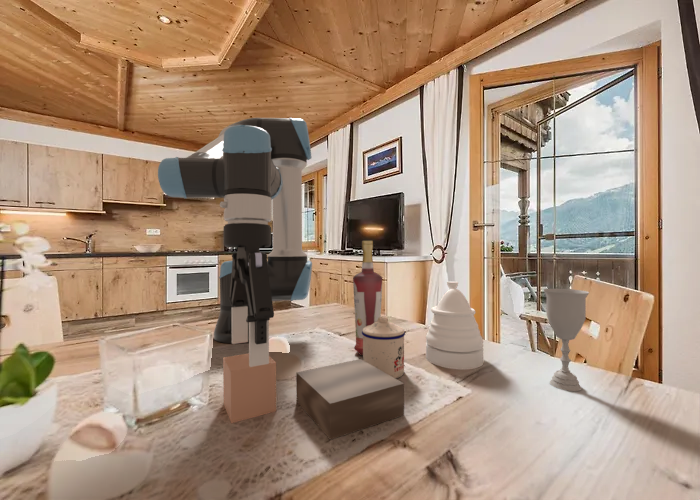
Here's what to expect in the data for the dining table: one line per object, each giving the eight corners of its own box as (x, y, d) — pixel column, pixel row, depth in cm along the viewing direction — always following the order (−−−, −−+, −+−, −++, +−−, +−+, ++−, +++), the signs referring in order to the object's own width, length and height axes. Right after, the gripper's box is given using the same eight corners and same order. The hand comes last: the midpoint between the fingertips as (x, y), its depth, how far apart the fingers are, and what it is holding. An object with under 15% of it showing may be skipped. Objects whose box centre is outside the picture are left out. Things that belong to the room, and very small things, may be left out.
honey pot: (424, 349, 84) (423, 279, 84) (476, 351, 82) (476, 280, 82) (428, 367, 72) (427, 285, 71) (489, 371, 70) (489, 286, 69)
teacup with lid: (404, 382, 64) (404, 323, 64) (358, 379, 66) (358, 321, 66) (406, 361, 75) (406, 311, 75) (367, 358, 77) (367, 309, 77)
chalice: (539, 385, 62) (539, 291, 62) (547, 374, 67) (547, 287, 67) (586, 397, 57) (586, 294, 57) (591, 385, 62) (591, 290, 62)
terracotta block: (223, 404, 56) (223, 357, 56) (264, 394, 59) (264, 350, 59) (231, 423, 50) (230, 370, 49) (276, 411, 53) (276, 362, 53)
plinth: (296, 401, 56) (296, 372, 56) (360, 384, 63) (360, 359, 63) (330, 439, 45) (330, 403, 45) (404, 415, 52) (403, 383, 52)
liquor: (385, 357, 78) (385, 240, 78) (355, 358, 77) (355, 240, 77) (379, 347, 86) (378, 241, 85) (351, 349, 85) (350, 241, 84)
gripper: (213, 227, 63) (213, 338, 63) (240, 214, 41) (240, 383, 41) (252, 228, 67) (253, 333, 67) (296, 217, 45) (297, 371, 45)
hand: (248, 352), depth 54 cm, fingers open, 13 cm apart
